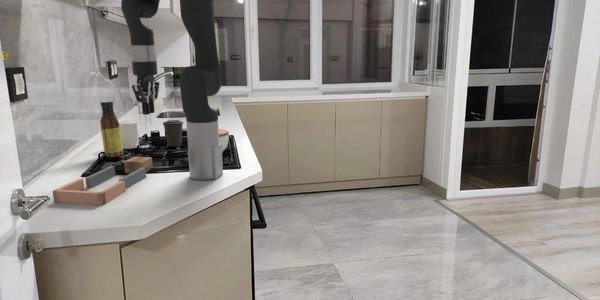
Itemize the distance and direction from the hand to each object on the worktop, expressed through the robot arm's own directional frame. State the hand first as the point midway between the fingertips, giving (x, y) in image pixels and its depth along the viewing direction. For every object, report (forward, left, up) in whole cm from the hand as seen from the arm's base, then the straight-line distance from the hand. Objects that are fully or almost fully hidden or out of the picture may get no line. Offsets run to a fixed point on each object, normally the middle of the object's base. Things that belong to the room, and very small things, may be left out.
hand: (148, 113), depth 138 cm
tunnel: (0, +21, -17) cm, 27 cm away
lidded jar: (-15, -19, -17) cm, 30 cm away
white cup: (+21, -21, -17) cm, 34 cm away
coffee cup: (+5, -27, -17) cm, 32 cm away
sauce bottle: (+19, -7, -17) cm, 27 cm away
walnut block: (0, +9, -17) cm, 19 cm away
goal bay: (0, +33, -17) cm, 37 cm away
